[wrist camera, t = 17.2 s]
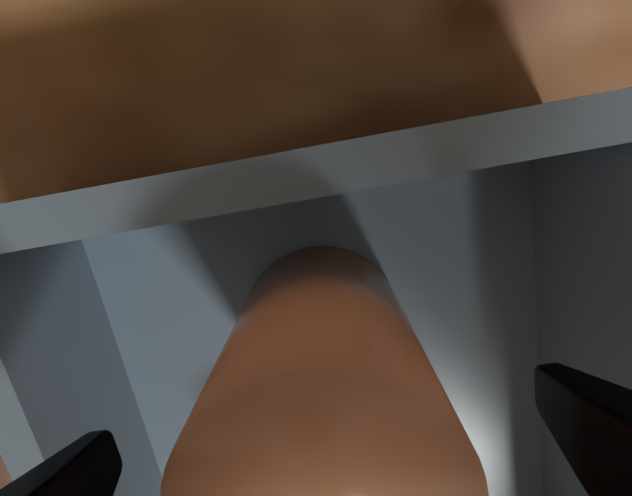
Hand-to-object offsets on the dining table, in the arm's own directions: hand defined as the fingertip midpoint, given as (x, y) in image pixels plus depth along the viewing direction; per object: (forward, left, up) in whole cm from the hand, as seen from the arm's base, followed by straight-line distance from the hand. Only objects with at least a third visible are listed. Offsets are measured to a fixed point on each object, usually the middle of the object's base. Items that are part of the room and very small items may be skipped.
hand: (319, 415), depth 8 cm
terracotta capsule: (0, 0, -5) cm, 5 cm away
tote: (-5, 0, -6) cm, 7 cm away
